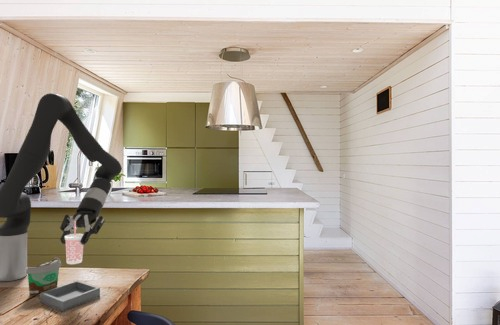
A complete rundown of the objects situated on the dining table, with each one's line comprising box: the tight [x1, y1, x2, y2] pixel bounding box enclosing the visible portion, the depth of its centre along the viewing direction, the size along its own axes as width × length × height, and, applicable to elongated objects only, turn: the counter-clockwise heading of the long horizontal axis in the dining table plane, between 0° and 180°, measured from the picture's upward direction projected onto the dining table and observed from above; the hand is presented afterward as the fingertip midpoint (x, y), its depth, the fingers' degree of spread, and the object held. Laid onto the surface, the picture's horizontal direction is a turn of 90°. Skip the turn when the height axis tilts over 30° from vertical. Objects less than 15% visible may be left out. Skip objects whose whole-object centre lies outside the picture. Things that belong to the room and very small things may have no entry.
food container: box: [26, 256, 62, 297], centre depth 112 cm, size 12×6×10 cm, turn 168°
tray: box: [39, 280, 101, 312], centre depth 105 cm, size 13×13×3 cm
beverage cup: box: [64, 221, 84, 265], centre depth 107 cm, size 6×6×14 cm
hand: (72, 242), depth 105 cm, fingers closed on beverage cup, 6 cm apart
